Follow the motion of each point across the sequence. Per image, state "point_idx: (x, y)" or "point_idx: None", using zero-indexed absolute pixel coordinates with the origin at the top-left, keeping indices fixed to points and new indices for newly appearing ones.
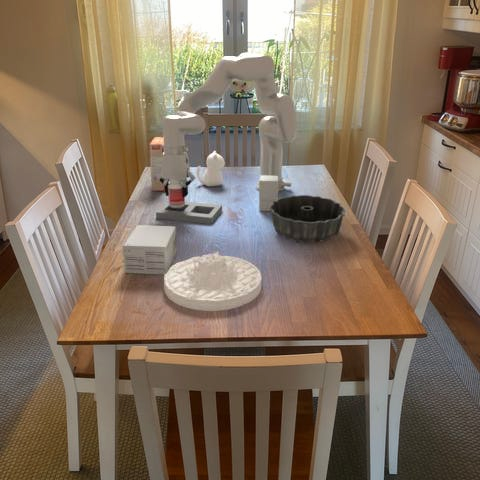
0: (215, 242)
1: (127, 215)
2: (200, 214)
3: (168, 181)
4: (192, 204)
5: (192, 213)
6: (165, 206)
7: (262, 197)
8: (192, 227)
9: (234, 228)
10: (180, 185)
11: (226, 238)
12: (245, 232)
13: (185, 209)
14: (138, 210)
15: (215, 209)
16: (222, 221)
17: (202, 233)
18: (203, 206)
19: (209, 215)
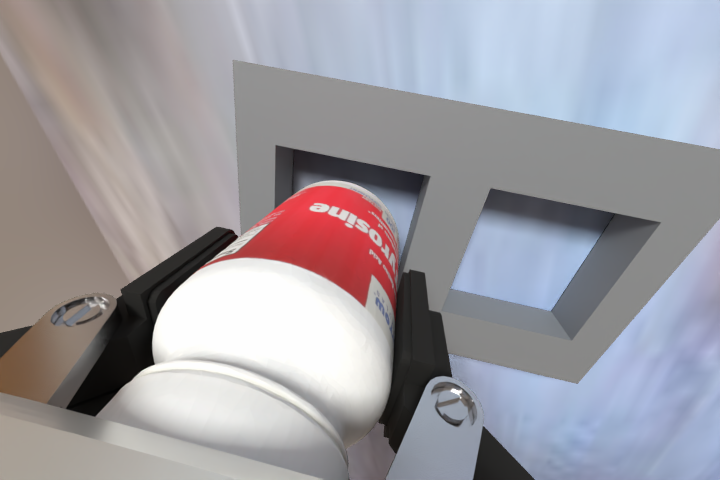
0: (540, 475)
1: (115, 246)
2: (511, 343)
3: (97, 356)
4: (458, 161)
5: (459, 326)
6: (259, 215)
7: None
8: (453, 375)
9: (673, 399)
10: (346, 446)
11: (593, 461)
12: (714, 435)
13: (408, 267)
14: (117, 174)
15: (650, 266)
16: (634, 325)
17: (496, 422)
18: (555, 200)
19: (570, 358)
